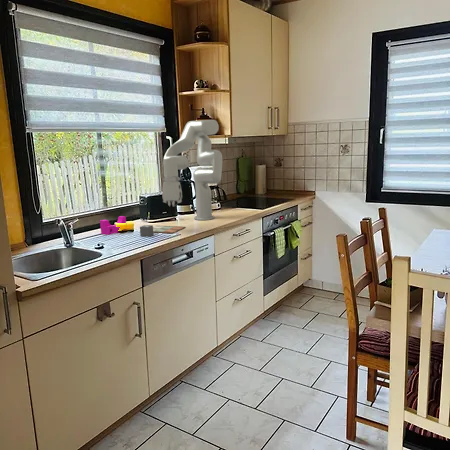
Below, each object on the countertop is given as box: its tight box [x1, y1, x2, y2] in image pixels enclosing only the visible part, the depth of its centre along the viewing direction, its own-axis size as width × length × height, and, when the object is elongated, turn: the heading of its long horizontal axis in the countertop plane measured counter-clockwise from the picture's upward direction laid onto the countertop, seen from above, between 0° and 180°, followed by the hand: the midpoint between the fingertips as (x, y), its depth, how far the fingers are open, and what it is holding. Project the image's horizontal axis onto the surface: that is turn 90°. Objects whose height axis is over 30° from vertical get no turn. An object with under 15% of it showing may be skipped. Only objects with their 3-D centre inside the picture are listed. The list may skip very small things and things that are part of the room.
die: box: [139, 224, 155, 238], centre depth 223 cm, size 5×5×5 cm
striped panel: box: [153, 225, 187, 235], centre depth 235 cm, size 17×18×1 cm
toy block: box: [99, 215, 127, 236], centre depth 236 cm, size 15×6×8 cm, turn 145°
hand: (172, 213), depth 231 cm, fingers closed
